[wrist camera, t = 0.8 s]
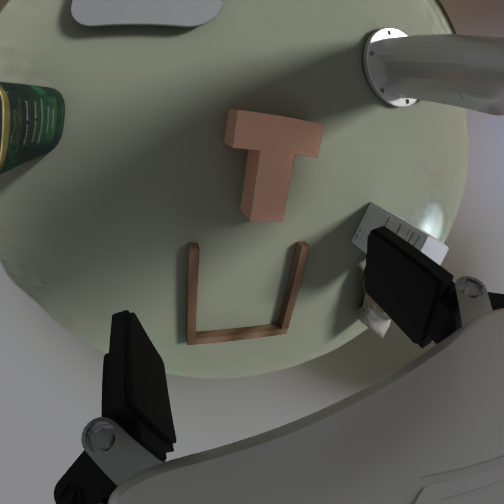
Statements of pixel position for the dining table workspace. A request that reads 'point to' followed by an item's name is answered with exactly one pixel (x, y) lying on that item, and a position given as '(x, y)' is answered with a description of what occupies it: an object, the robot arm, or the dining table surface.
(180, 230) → the dining table surface
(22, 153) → the coffee jar
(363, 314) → the ceramic sculpture
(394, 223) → the supplement box
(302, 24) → the dining table surface
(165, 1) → the tablet
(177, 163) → the dining table surface
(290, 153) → the t block
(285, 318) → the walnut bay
